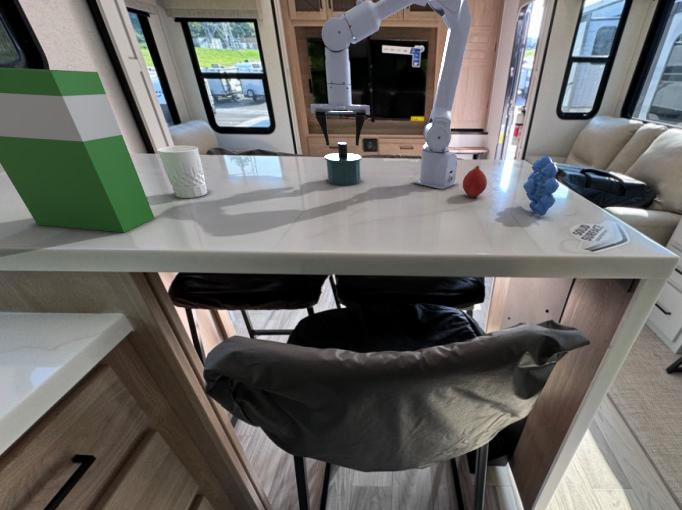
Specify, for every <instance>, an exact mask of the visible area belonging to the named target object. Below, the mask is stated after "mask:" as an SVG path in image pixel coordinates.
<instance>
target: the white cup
mask: <svg viewBox="0 0 682 510" xmlns="http://www.w3.org/2000/svg"><path fill="white" fill-rule="evenodd" d="M156 151H157V154H158V156H159V159H160V162H161V164H162V167H163V170H164V172H165V174H166V176H167V179H168V182H169V183H170V185H171V188H172V190H173V193H174V195H175V196H176V198H180V199H193V198H199V197H203V196H205V195H207V194H208V188H207V184H206V178H205V172H204V169H203V163H202V160H201V155H200V151H199V147H198V146H194V145H169V146H164V147H163V146H162V147H159V148H157V149H156Z"/></svg>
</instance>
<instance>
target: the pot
mask: <svg viewBox="0 0 682 510" xmlns="http://www.w3.org/2000/svg"><path fill="white" fill-rule="evenodd" d="M326 167H327V168H326V170H327V180H328V184H332V185H334V186H353V185H358V184H360V183H361V160H360V161H357V162H351V163H337V162H330V161H327V160H326Z"/></svg>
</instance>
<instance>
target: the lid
mask: <svg viewBox="0 0 682 510" xmlns="http://www.w3.org/2000/svg"><path fill="white" fill-rule="evenodd" d="M324 160H325V161H326V162H327V161H330V162H337V163H351V162H357V161H360V162H361V160H362V156H361V155H359V154H355V153H348V143H347V142H343V141H342V142H337V153H329V154H326V155H325V156H324Z"/></svg>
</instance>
